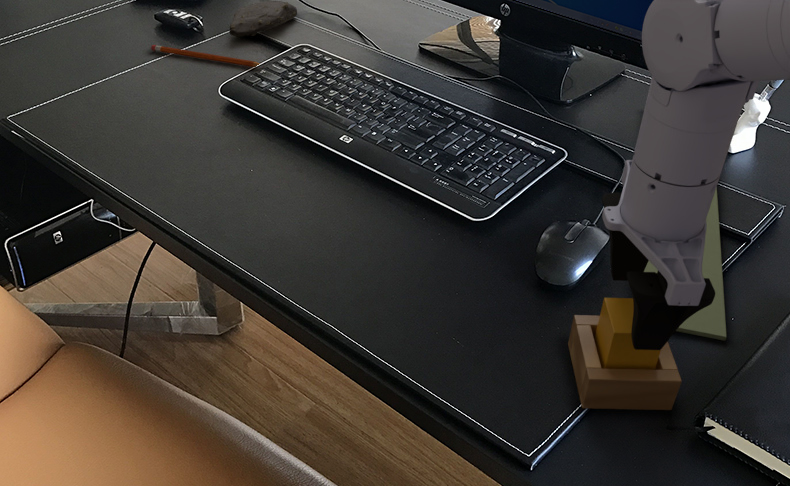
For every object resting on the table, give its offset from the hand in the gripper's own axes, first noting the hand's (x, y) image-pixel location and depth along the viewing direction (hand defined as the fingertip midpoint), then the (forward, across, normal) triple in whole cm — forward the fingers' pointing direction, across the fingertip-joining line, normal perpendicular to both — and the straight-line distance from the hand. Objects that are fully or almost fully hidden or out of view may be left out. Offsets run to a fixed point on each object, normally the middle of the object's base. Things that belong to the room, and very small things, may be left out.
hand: (635, 310), depth 61 cm
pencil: (+8, -58, -46) cm, 74 cm away
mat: (+8, -25, +12) cm, 28 cm away
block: (+8, 0, 0) cm, 8 cm away
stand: (+8, 0, 0) cm, 8 cm away
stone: (+8, -70, -40) cm, 80 cm away
